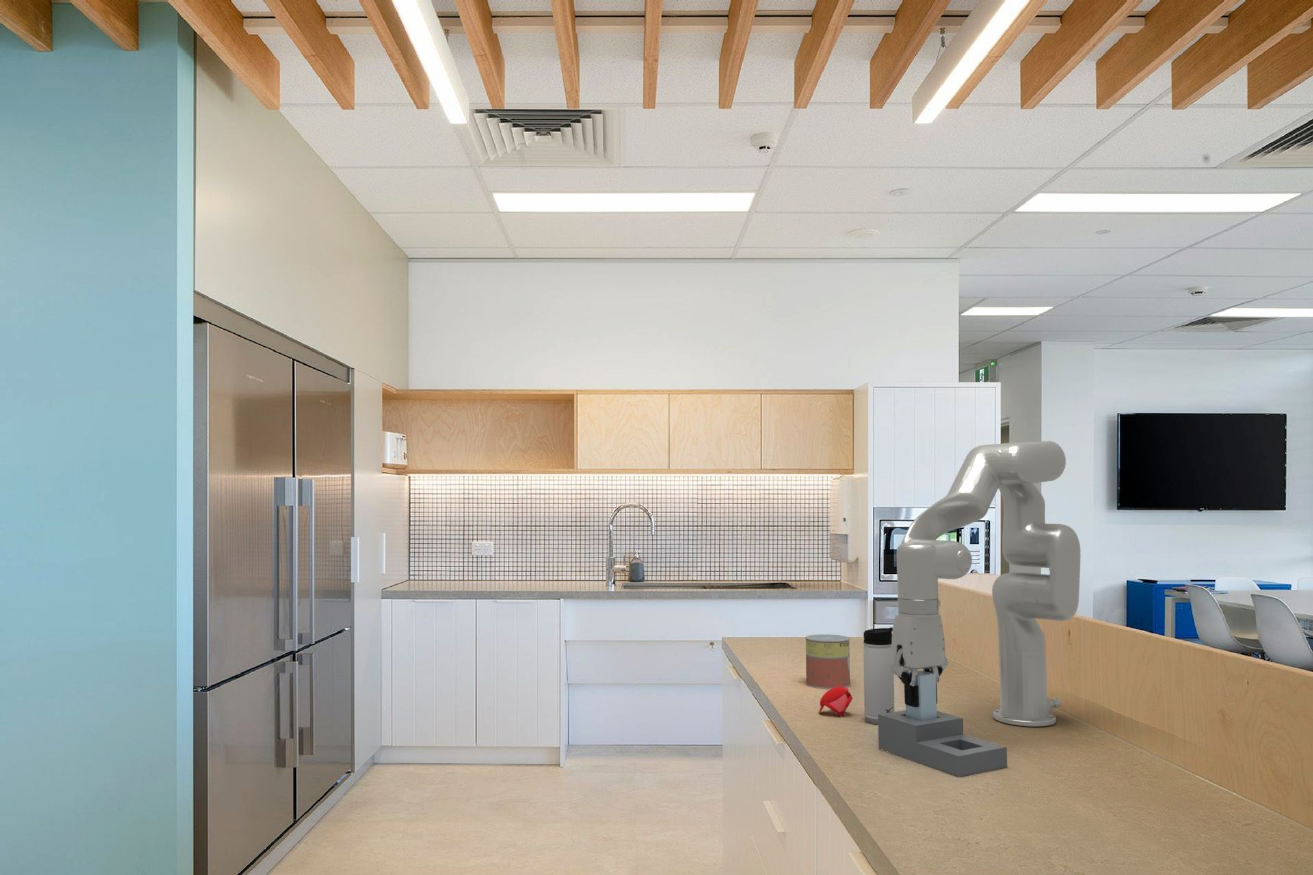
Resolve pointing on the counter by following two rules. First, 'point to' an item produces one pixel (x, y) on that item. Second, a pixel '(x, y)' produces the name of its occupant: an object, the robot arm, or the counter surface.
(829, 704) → the cap
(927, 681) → the plug
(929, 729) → the socket panel
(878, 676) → the travel mug
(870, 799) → the counter surface
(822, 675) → the canned food
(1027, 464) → the robot arm
